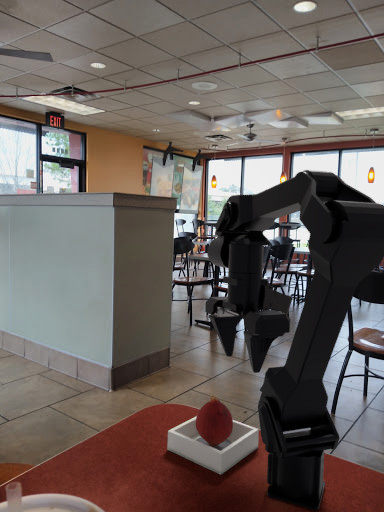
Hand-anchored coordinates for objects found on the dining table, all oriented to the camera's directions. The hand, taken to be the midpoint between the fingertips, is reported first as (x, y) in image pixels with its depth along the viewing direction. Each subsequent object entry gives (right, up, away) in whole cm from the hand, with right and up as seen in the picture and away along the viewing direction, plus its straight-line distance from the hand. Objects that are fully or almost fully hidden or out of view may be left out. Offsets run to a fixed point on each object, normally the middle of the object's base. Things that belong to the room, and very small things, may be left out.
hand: (242, 363), depth 71 cm
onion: (-5, -12, -5) cm, 14 cm away
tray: (-5, -12, -5) cm, 14 cm away
